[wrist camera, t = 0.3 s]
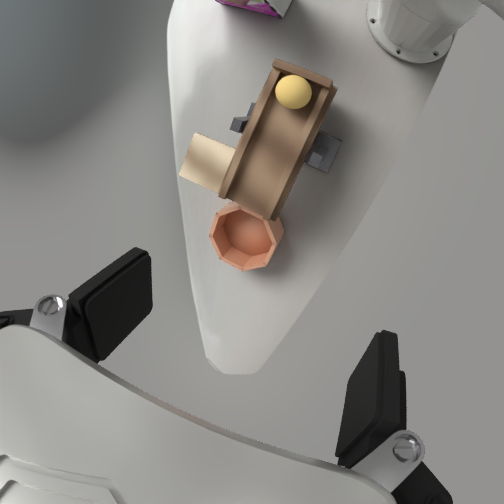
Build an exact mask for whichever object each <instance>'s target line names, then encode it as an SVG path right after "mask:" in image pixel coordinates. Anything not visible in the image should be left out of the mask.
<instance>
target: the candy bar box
mask: <svg viewBox="0 0 504 504" xmlns="http://www.w3.org/2000/svg"><path fill="white" fill-rule="evenodd" d="M215 1H217V2H219V3H221V4H226V5H231V6H236V7H241V8H245V9H249V10H253V11H257V12H260V13H264V14H268V15H271V16H275V17H278V18H281V19H283V17H284V16H285V14H286V11H287V9H288V7H289V5H290V3H291V1H292V0H215Z"/></svg>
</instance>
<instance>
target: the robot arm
mask: <svg viewBox="0 0 504 504" xmlns="http://www.w3.org/2000/svg"><path fill="white" fill-rule="evenodd" d="M482 4H484V5H486V6H487V7H489V8H490V9H491V10H492V11H494V12H495V13H496V14H497V15H498V16H500V17H501V18H502V19H503V20H504V0H370V1H369V3H368V7H367V13H366V15H367V23H368V27H369V29H370V31H371V33H372V35H373V37H374V38H375V40H376V41H377V42H378V43H379V44H380V45H381V46H382V48H383V49H385V50H386V51H387V52H389V53H390V54H392V55H393V56H395V57H397V58H399V59H401V60H404V61H407V62H411V63H420V64H423V63H430V62H433V61H436V60H438V59H440V58H441V57H442V56H443V55H445V54H446V53H447V51H448V50H449V48H450V46H451V43H452V38H453V33H454V32H455V31H456V30H458V29H459V28H460V27H461V26H463V25H464V24H465V23H466V22H467V21H469V20H470V19H471V18H472V17H474V16H475V15H476V14H477V12H478V11H479V9H480V7H481V5H482ZM372 21H373V22H374V24H372V23H371V22H372ZM397 51H399V52H400V54H397ZM433 53H435V54H436V56H434V54H433ZM152 307H153V303H152V277H151V257H150V256H149V254H148V252H147V251H145V250H142V249H139V248H137V247H135V248H133V249H131V250H130V251H128V252H127V253H125V254H124V255H123V256H121V257H120V258H118V259H117V260H116V261H114V262H113V263H111V264H110V265H108V266H107V267H106V268H104V269H103V270H101V271H100V272H99V273H97V274H96V275H94V276H93V277H92V278H90V279H89V280H88V281H86V282H85V283H84V284H82V285H81V286H80V287H78V288H77V289H76V290H74V291H73V292H72V293H70V294H69V299H68V300H67V301H66V300H65V298H63V297H62V296H60V295H56V294H50V295H46V296H44V297H42V298H41V299H39V300H38V301H37V303H36V304H35V307H34V309H25V310H13V311H4V312H0V504H453V501H452V497H451V495H450V494H449V492H448V491H447V490H446V489H445V488H444V486H443V485H442V484H441V483H440V482H439V481H438V479H437V478H436V477H435V476H434V475H433V473H432V472H431V471H430V470H429V469H428V468H427V467H426V465H425V464H424V463H423V462H422V459H423V458H424V454H425V446H424V443H423V441H422V440H421V438H420V437H419V436H418V435H417V434H415V433H414V432H411V431H409V430H406V378H405V373H404V371H400V370H399V353H398V337H397V334H396V333H392V332H389V331H386V330H382V332H381V333H378V332H377V333H376V334H375V335H374V337H373V339H372V341H371V343H370V344H369V346H368V348H367V350H366V352H365V353H364V355H363V356H362V358H361V360H360V361H359V363H358V365H357V366H356V368H355V370H354V371H353V373H352V375H351V376H350V378H349V381H348V384H347V391H346V397H345V404H344V410H343V415H342V421H341V427H340V432H339V437H338V442H337V447H336V452H335V456H336V457H339V459H338V464H337V465H335V464H332V463H328V462H325V461H322V460H318V459H315V458H311V457H307V456H304V455H300V454H296V453H294V452H290V451H287V450H284V449H281V448H277V447H275V446H272V445H269V444H265V443H263V442H260V441H257V440H254V439H251V438H248V437H245V436H243V435H240V434H237V433H235V432H232V431H230V430H227V429H224V428H222V427H220V426H217V425H215V424H212V423H210V422H207V421H205V420H203V419H200V418H198V417H196V416H193V415H191V414H189V413H187V412H185V411H183V410H181V409H178V408H176V407H174V406H172V405H170V404H168V403H166V402H164V401H162V400H160V399H158V398H156V397H154V396H152V395H150V394H149V393H147V392H145V391H143V390H141V389H139V388H137V387H135V386H134V385H132V384H130V383H128V382H127V381H125V380H123V379H121V378H120V377H118V376H116V375H115V374H113V373H111V372H109V371H108V370H106V369H104V368H103V367H101V366H100V365H98V364H97V363H98V362H99V361H100V360H101V361H102V360H105V359H106V358H107V357H108V356H109V355H110V353H111V352H112V351H113V350H114V349H115V348H116V347H117V346H118V345H119V344H120V343H121V342H122V341H123V340H124V339H125V338H126V337H127V336H128V335H129V334H130V333H131V332H132V330H134V329H135V328H136V327H137V325H139V323H140V322H141V321H142V320H143V319H144V318H145V317H146V316H147V315H148V314H149V313H150V312H151V310H152ZM339 465H340V466H339ZM342 466H345V467H342Z"/></svg>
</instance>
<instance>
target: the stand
mask: <svg viewBox="0 0 504 504" xmlns="http://www.w3.org/2000/svg"><path fill="white" fill-rule="evenodd" d="M255 105H256V103H252V104H251V106H250V109H249V111H248V114H247V117H235V118H234V119H233V122H232V124H231V127H230V130H233V131H235V132H238V133H240V132H241V133H242V134H243V132H244V129H245V127H246V125H247V123H248V120H249V118H250V116H251V114H252V111H253V109H254V107H255ZM341 143H342V141H340V140H338V139H336V138H334V137H332V136H330V135H328V134H326V133H324V132H322V131H320V130H319V131H318V133H317V135H316V137H315V139H314V141H313V143H312V145H311V148H310V150H309V152H308V154H307V156H306V158H305V160H304V162H306V163H308V164H309V165H311V166H313V167H315V168H319V169H321V170H323V171H325V172H328V170H329V168H330V166H331V164H332V162H333V159H334V157H335V155H336V153H337V151H338V149H339V147H340V145H341Z"/></svg>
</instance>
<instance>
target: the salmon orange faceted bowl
mask: <svg viewBox="0 0 504 504" xmlns="http://www.w3.org/2000/svg"><path fill="white" fill-rule="evenodd" d="M284 232H285V230H284V228H283V225H282V223H281V220H280V218H279V215H278V218H277V220H276V221H275V222H274V221H272V220H269V221H266V220H265V219H263V215H261V214H259V213H257V212H255V211H252V210H250V209H248V208H246V207H244V206H242V205H240V204H238V203H236V202H232V203H229V204H228V205H226V206H225V207H224V208H222V209H221V210H220V211H218V212H217V213H216V216H215V219H214V222H213V225H212V228H211V231H210V234H209V237H210V239H211V242H212V244H213V246H214V248H215V250H216V252H217V254H218V256H219V258H220V259H221V260H222V261H224V262H226V263H228V264H230V265H232V266H234V267H236V268H237V269H239V270H241V271H247V270H251V269H255V268H260V267H264V266H267V264H268V263H269V261H270V259H271V258H272V256H273V255H274V253H275V251H276V249H277V247H278V245H279V243H280V240H281V238H282V236H283V234H284Z"/></svg>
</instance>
